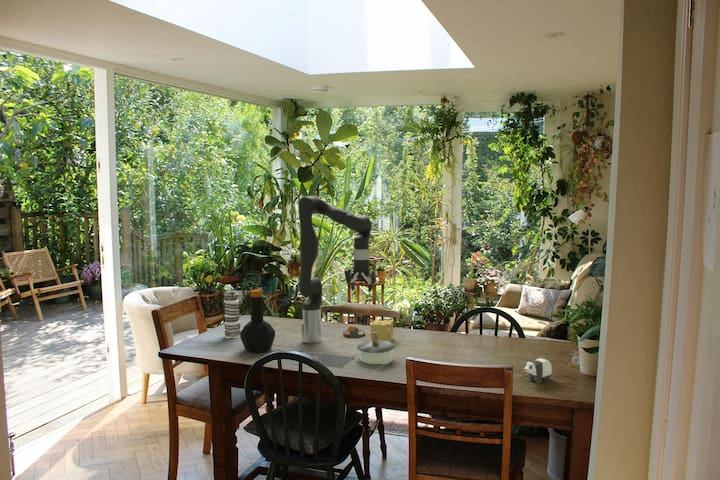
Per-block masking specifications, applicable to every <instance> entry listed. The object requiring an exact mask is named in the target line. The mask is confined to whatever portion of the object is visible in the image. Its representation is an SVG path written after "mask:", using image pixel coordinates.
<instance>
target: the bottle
mask: <svg viewBox="0 0 720 480" xmlns="http://www.w3.org/2000/svg"><path fill="white" fill-rule="evenodd" d="M249 291H250V296H249V303H250V304H251V307H250V321H249V322H247V323H246V324H245V325H244V326H243V328H242V329H241V331H240V332H241V333H240V337H239V338H240V341H241V343H242V345H243V347H244V350H245V351H246V350H247V351H246V352H248V351H249V352H256V353H255V354H261V353H260V352H262V353H267V352H269V351H270V350H271V349H272V348H273V347H272V346H273V343H274V342H275V338H276V331H275V329H274V328H273V326H272V324H270V323H269V322H267V321H266V320H264V309H263V304H262V303H264V296H262V295H263V290H262V289H251V290H249ZM268 350H269V351H268ZM266 351H267V352H266ZM249 352H248V353H249Z"/></svg>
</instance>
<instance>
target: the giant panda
mask: <svg viewBox="0 0 720 480" xmlns="http://www.w3.org/2000/svg"><path fill="white" fill-rule="evenodd" d="M523 371H524V372H526V373H528V377H529V378H528V382H531V383H532V382H535V385H540V384H541V383H542V380H543V379H544V380H543V381H546V382H547V381H550V380H551V376H552V371H553V369H552V363H551V362H550V361H549V360H548V359H545V358H540V357H539V358H537V359H535V360H532V361H531V360H530V359H529V360H528V362H525V364H524V368H523Z"/></svg>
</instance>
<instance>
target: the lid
mask: <svg viewBox="0 0 720 480" xmlns="http://www.w3.org/2000/svg"><path fill="white" fill-rule="evenodd" d="M356 348H357V350H358V351H359V352H360V351H363V352H368V353H382V352H388V351H391V350H392V351H393V350H394V348H395V344H394V343H393V342H392V341H391V342H389V341H384V340H379V332H372V340H371V339H370V340H369V339H368V340H363V341H361V342H358V344H357V346H356Z"/></svg>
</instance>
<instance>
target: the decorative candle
mask: <svg viewBox="0 0 720 480" xmlns="http://www.w3.org/2000/svg"><path fill="white" fill-rule="evenodd" d="M239 294H240V293H239V292H238V291H237V290H235V289H231V290H226V291H225V292H224V293H223V298H224V299H223V301H222V306H223V313H224V314H223V315H224V329H225V330H224V337H226V338H225V339H228V338H235V339H237V338H236V337H239V338H240V333H241V331H242V329H241V323H240V322H241V320H240V316H241V310H240V309H241V304H240V303H239V302H240V299H239Z"/></svg>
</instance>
